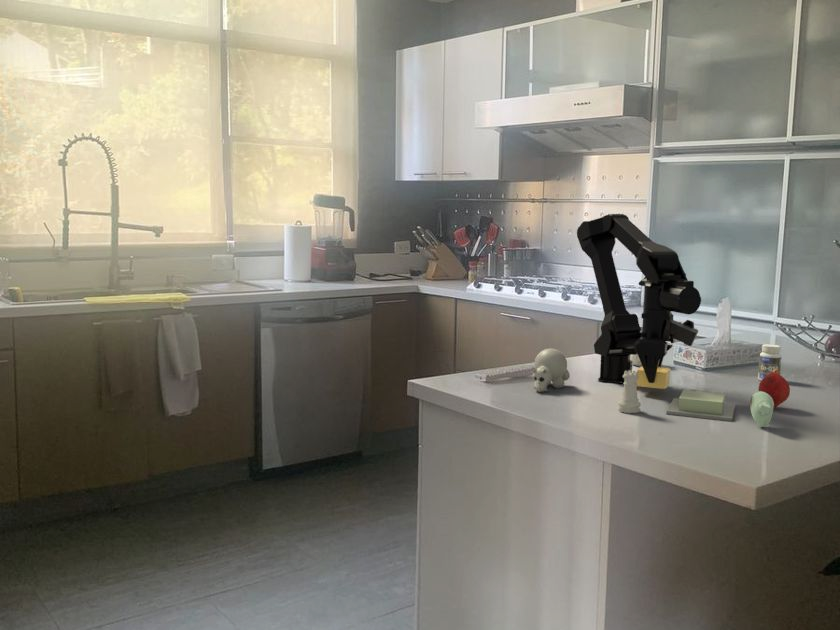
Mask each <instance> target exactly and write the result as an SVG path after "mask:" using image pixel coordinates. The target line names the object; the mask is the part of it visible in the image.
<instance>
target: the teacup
mask: <svg viewBox="0 0 840 630" xmlns="http://www.w3.org/2000/svg"><path fill="white" fill-rule="evenodd" d="M630 360H631V361H632V366H636V367H638V368H640V367H641V366H642V364H641V361H640V359H639V357H638V354H636V355H630Z"/></svg>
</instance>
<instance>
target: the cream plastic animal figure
mask: <svg viewBox="0 0 840 630" xmlns="http://www.w3.org/2000/svg"><path fill="white" fill-rule="evenodd" d="M531 370H532V379H533V382H534V384H533V389H534V390H535V391H536V392H537V391H538V393H544V392H545V391H546V390H547V387H548V386H550V385H551V384H552V386H553V388H554V389H561V388H563V387H564V386H565V381H568V380H569V379H570V376H571V375H570V372H569V370H568V361H567V357H566V356H565V354H564V353H562V351H560V350H558V349H556V348H545V349H543V350H541V351H540V352H538V354H537V356H535V359H534V366H533V367H531ZM551 382H552V383H551Z"/></svg>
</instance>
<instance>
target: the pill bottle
mask: <svg viewBox="0 0 840 630" xmlns="http://www.w3.org/2000/svg"><path fill="white" fill-rule="evenodd" d="M758 362H759V363H758V374H757V380H759V381H760V382H761V381H762V379H763V378H765V377H766V376H767V375H769V374H771V373H772V371H774V370H775V369H778V370H779V371H780V372H779V374H780V375H781V369H782V368H781V366H782V354H781V345H779V344H771V343H764V344H761V352H760V354H759V360H758Z"/></svg>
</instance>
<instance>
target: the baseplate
mask: <svg viewBox="0 0 840 630" xmlns="http://www.w3.org/2000/svg"><path fill="white" fill-rule="evenodd" d="M725 397H726V394H725V393H721V392H720V393H719V392H718V393H717V392H709V391H708V392H707V391H697V390H688V389H683V390H682V392H681V394H680V395H679V397H678V398H677V397H673V399H672V401H671V402H670V404H669V406H668V408H667V409H666V415H672V416H673V415H674V416H680V417H690V418H699V419H700V418H701V419H709V420H715V421H716V420H717V421H726V422H733V420H734V419H733V418H734V414H735V409H736V404H735V403H733V404H732V403H725Z"/></svg>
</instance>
